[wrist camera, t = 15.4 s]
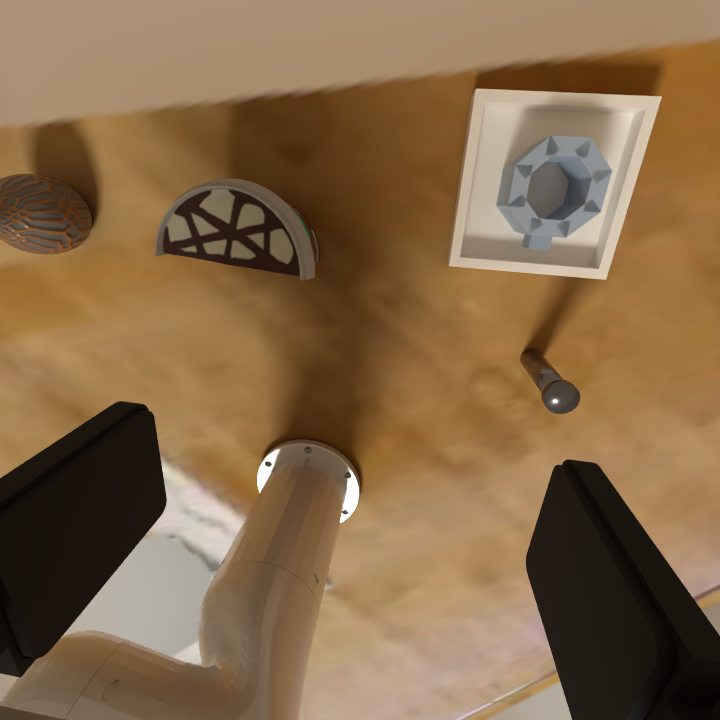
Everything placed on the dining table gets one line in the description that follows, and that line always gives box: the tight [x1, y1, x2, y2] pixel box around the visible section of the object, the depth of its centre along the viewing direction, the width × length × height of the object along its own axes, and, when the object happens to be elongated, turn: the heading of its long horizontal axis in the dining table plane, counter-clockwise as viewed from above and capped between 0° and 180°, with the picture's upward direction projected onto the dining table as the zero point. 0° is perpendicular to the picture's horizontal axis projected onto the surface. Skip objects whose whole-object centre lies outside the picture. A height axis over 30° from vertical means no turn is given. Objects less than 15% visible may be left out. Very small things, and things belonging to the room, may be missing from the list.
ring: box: [496, 135, 612, 250], centre depth 30 cm, size 7×8×4 cm
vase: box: [0, 174, 92, 254], centre depth 35 cm, size 7×7×9 cm
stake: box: [520, 349, 580, 414], centre depth 34 cm, size 3×3×9 cm
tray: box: [447, 89, 662, 280], centre depth 32 cm, size 13×13×2 cm
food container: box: [155, 178, 319, 281], centre depth 32 cm, size 12×6×10 cm, turn 82°
